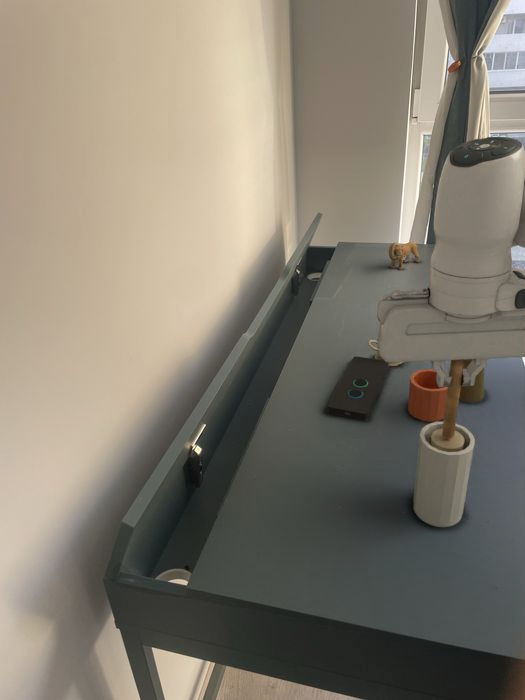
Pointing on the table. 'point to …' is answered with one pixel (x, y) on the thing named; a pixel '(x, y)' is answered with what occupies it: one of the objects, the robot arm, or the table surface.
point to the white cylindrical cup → (442, 478)
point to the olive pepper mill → (473, 387)
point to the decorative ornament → (380, 356)
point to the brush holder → (426, 396)
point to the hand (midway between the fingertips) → (454, 384)
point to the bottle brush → (450, 414)
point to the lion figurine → (402, 252)
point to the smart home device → (358, 388)
